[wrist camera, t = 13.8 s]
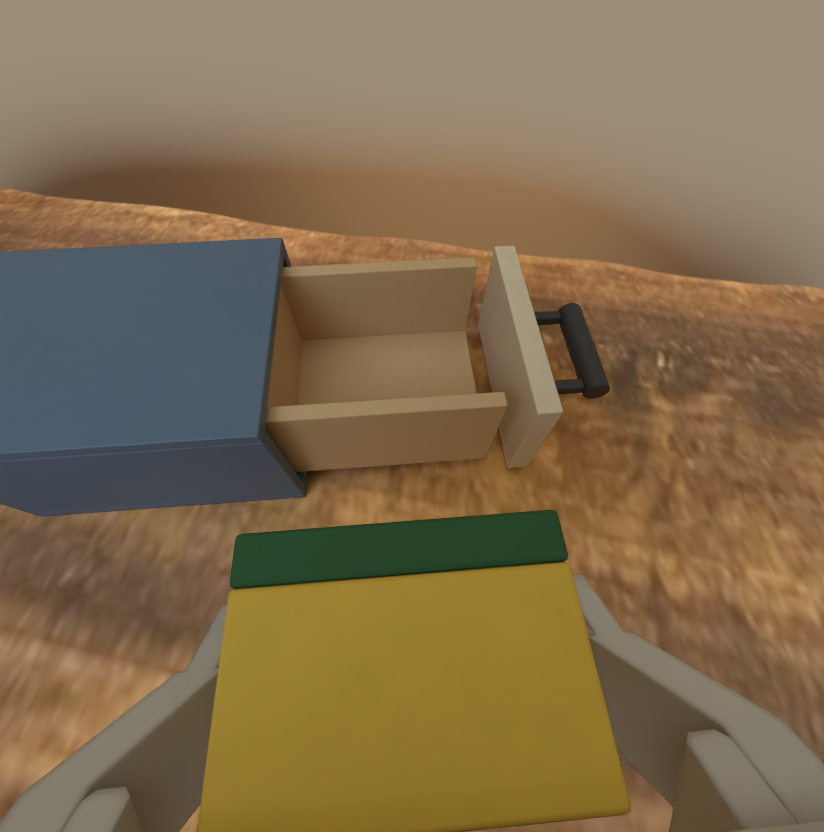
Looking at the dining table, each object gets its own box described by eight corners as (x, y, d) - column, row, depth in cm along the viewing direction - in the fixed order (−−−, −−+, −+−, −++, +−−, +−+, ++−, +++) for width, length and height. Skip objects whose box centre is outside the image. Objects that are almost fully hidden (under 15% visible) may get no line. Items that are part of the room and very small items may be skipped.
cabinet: (314, 335, 30) (282, 237, 22) (305, 497, 24) (258, 436, 16) (102, 348, 29) (-2, 251, 22) (40, 516, 23) (-133, 462, 16)
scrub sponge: (339, 710, 12) (187, 864, 4) (340, 592, 13) (234, 533, 5) (490, 696, 12) (637, 816, 4) (474, 581, 13) (558, 507, 6)
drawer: (550, 320, 29) (585, 241, 23) (595, 461, 24) (655, 406, 18) (295, 335, 29) (265, 258, 23) (283, 484, 23) (239, 434, 17)
